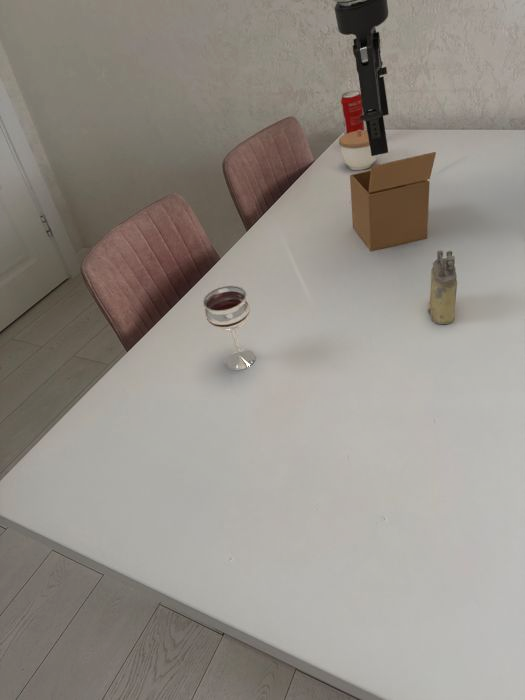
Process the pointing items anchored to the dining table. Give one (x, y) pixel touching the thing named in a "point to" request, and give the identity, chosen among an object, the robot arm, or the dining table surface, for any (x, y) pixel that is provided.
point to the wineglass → (230, 319)
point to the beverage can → (352, 111)
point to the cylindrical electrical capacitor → (443, 289)
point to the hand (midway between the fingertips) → (380, 133)
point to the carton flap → (401, 172)
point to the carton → (389, 212)
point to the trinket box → (356, 150)
